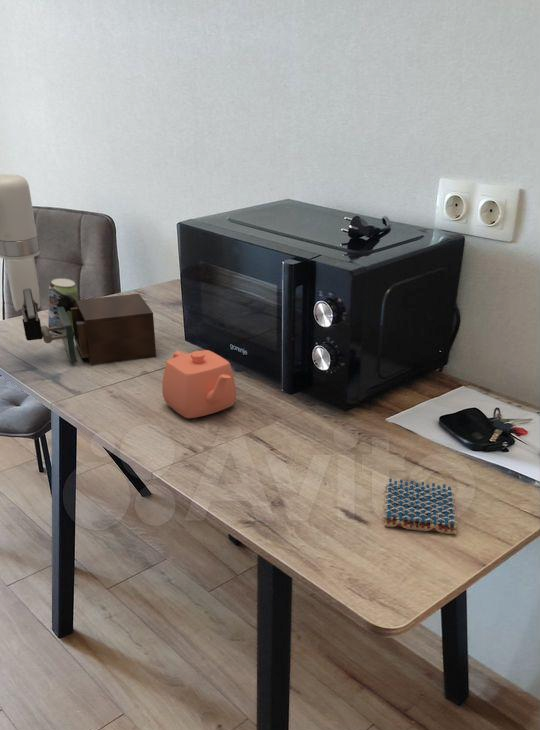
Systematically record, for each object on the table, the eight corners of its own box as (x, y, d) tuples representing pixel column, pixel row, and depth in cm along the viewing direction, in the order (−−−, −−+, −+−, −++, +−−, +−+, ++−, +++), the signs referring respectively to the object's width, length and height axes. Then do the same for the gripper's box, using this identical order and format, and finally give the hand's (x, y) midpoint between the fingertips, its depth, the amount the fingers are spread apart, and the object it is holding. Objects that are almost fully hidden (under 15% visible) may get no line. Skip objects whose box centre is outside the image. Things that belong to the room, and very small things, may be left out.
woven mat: (381, 529, 99) (382, 517, 97) (383, 487, 107) (385, 476, 106) (457, 537, 97) (459, 526, 96) (453, 495, 106) (455, 484, 105)
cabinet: (91, 365, 143) (85, 320, 138) (81, 343, 153) (75, 300, 148) (156, 356, 148) (153, 312, 142) (142, 335, 157) (139, 293, 152)
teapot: (202, 382, 137) (200, 332, 132) (256, 418, 125) (257, 364, 120) (150, 397, 131) (146, 345, 126) (202, 436, 120) (200, 380, 114)
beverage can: (51, 328, 160) (43, 276, 153) (84, 328, 161) (78, 275, 154) (47, 339, 155) (38, 285, 148) (81, 338, 155) (74, 284, 149)
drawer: (48, 365, 141) (42, 328, 136) (42, 344, 150) (36, 309, 145) (131, 354, 146) (128, 318, 142) (120, 335, 155) (117, 300, 151)
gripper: (-6, 238, 137) (11, 328, 147) (0, 258, 126) (18, 354, 136) (34, 235, 140) (48, 323, 150) (43, 255, 128) (58, 349, 138)
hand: (34, 338), depth 143 cm, fingers closed
